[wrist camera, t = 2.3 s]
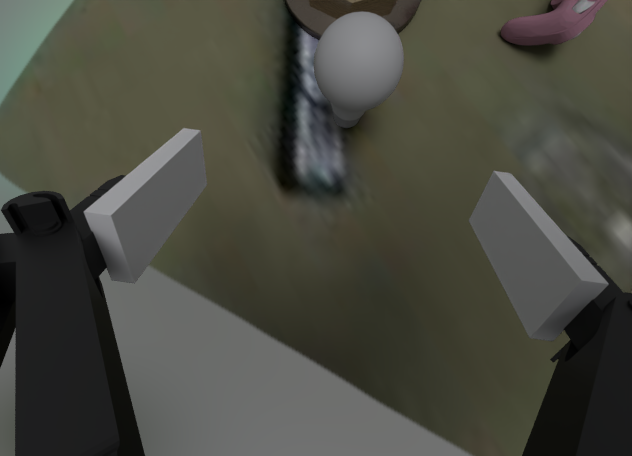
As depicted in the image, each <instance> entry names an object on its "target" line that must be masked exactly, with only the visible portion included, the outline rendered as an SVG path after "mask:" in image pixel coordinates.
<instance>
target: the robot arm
mask: <svg viewBox="0 0 632 456" xmlns="http://www.w3.org/2000/svg"><path fill="white" fill-rule="evenodd" d="M206 185H207V181H206V172H205V163H204V155H203V146H202V137H201V131H200V130H193V129H186V128H183V129H182V130H181V131H180V132H178V133H177V134H176V135H175V136H174V137H172V138H171V139H170V140H169V141H168V142H166V143H165V144H164V145H163V146H162V147H160V148H159V149H158V150H157V151H156V152H154V153H153V154H152V155H151V156H150V157H148V158H147V159H146V160H145V161H144V162H142V163H141V164H140V165H139V166H138V167H136V168H135V169H134V170H133V171H132V172H130V173H129V174H128V175H127V176H124V175H120V176H118V177H116V178H113V179H111V180H109V181H107V182H106V183H104V184H103V185H102V186H100V187H99V188H98V190H95V191H94V192H93V193H92V194H90V197H89V196H88V197H86V198H85V199H84V200H83V201H81V202H80V203H79V204H78V205H76V206H75V207H74V208H73V209H71V210H70V211H69V209H68V206H67V204H66V202H65V200H64V198H63V196H62V195H61V194H59V193H56V192H51V191H39V192H31V193H28V194H24V195H20V196H18V197H16V198H13V199H11V200H10V201H8V202H7V203H6V204H4V205H3V207H2V209H1V211H2V213H3V215H4V216H5V218H6V219H7V221H8V223H9V224H10V226H11V228H12V229H13V231H14V233H5V234H0V367H1V365H2V362H3V359H4V357H5V354H6V351H7V349H8V346H9V343H10V340H11V338H12V335H13V333H14V330H15V328H16V395H15V396H16V403H15V404H16V406H15V408H16V409H15V411H16V414H15V416H16V417H15V425H16V426H15V428H16V429H15V456H145V454H144V450H143V446H142V442H141V438H140V434H139V430H138V426H137V422H136V418H135V414H134V410H133V406H132V402H131V398H130V394H129V390H128V386H127V382H126V378H125V374H124V370H123V366H122V362H121V358H120V354H119V350H118V346H117V342H116V338H115V334H114V331H113V327H112V322H111V318H110V314H109V310H108V307H107V302H106V298H105V294H104V291H103V287H102V283H101V281H100V278H99V275H100V274H101V273H102V272H103V271H104V270H105V269H106V268H107V270H108V273H109V275H110V277H111V280H114V281H121V282H127V283H135V282H136V281H137V280H138V278H139V277H140V276H141V274H142V273H143V271H144V270H145V269H146V267H147V266H148V265H149V263H150V262H151V261H152V259H153V258H154V256H155V255H156V254H157V252H158V251H159V250H160V248H161V247H162V246H163V244H164V243H165V241H166V240H167V239H168V237H169V236H170V235H171V233H172V232H173V230H174V229H175V228H176V226H177V225H178V224H179V222H180V221H181V220H182V218H183V217H184V215H185V214H186V213H187V211H188V210H189V209H190V207H191V206H192V205H193V203H194V202H195V200H196V199H197V198H198V196H199V195H200V194H201V192H202V191H203V189H204V188H205V187H206ZM469 222H470V224H471V226H472V228H473V230H474V232H475V234H476V236H477V238H478V240H479V241H480V243H481V245H482V247H483V249H484V251H485V253H486V255H487V257H488V259H489V261H490V263H491V265H492V266H493V268H494V270H495V272H496V274H497V276H498V278H499V280H500V282H501V284H502V286H503V288H504V290H505V291H506V293H507V295H508V297H509V299H510V301H511V303H512V305H513V307H514V309H515V311H516V313H517V315H518V316H519V318H520V320H521V322H522V324H523V326H524V328H525V330H526V332H527V334H528V336H529V338H533V339H540V340H548V341H554V340H555V338H556V337H557V336H558V335H559V334H560V333H561V332H562V331H563V330H565V332H566V333H567V335H568V336H569V338H570V341H569V342H568V343H567V344H566V345H565V346H564V347H563V348H562V349H561V350H560V351H559V352H557V353H556V354H555V355H554V356H553V357H552V358H551V359H550V360H551V361H553V362H555V361H556V360H557V359H559V360H558V363H557V365H556V368H555V371H554V373H553V376H552V378H551V381H550V384H549V386H548V389H547V392H546V394H545V397H544V399H543V402H542V405H541V407H540V410H539V413H538V415H537V418H536V420H535V423H534V426H533V428H532V431H531V434H530V436H529V439H528V441H527V444H526V447H525V449H524V452H523V455H522V456H632V294H631V293H626V292H625V293H623V292H622V290H621V289H620V288H619V287H618V286H617V285H616V284H615V283H614V282H613V281H612V279H611V278H610V277H609V276H608V275H607V274H606V273H605V272H604V271H603V270H602V268H601V267H600V266H597V263H596V262H595V261H594V260H593V259H592V257H589V256H590V255H589V254H588V253H587V252H586V251H585V250H584V249H583V248H582V246H581V245H579V244H578V243H577V242H575V241H574V240H572V239H571V238H570V237H568V236H567V235H565V234H564V233H563V232H562V231H561V229H560V228H559V227H558V226H557V225H556V224H555V223H554V221H553V220H552V219H551V218H550V217H549V216H548V215H547V214H546V212H545V211H544V210H543V209H542V208H541V207H540V206H539V205H538V203H537V202H536V201H535V200H534V199H533V198H532V197H531V196H530V194H529V193H528V192H527V191H526V190H525V189H524V188H523V186H522V185H521V184H520V183H519V182H518V181H517V180H516V179H515V177H514V176H513V175H512V174H511V173H505V172H498V171H493V173H492V175H491V177H490V179H489V181H488V183H487V185H486V187H485V189H484V191H483V193H482V195H481V197H480V199H479V201H478V203H477V205H476V207H475V209H474V211H473V213H472V215H471V217H470V219H469Z"/></svg>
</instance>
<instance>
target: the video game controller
mask: <svg viewBox="0 0 632 456" xmlns="http://www.w3.org/2000/svg"><path fill="white" fill-rule="evenodd" d="M606 1H607V0H552V1H551V5H552V7H553V9H554V10H553V11H551V12H549V13H546V14H540V15H535V16H526V17H518V18H515V19H513V20H510V21H508V22H506V23H505V24H504V26H503V27H502V29H501V36H502V37H503V38H504V39H505V40H506V41H508V42H510V43H513V44H518V45H527V46H531V45H542V44H548V43H551V44H555V45H556V44H560V43H563V42H566V41H568V40H570V39H573V38H575V37H577V36H578V35H579V34H580V33H581V32H582V31H583V30H584V29H586V28H587V27H588V26H589V25H590V24H591V23H592V21H593V20H594V18H595V13H596V12H597V11H598V10H599V9H600V8H601V7H602V6H603V5H604V4H605V2H606Z"/></svg>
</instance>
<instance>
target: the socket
mask: <svg viewBox="0 0 632 456" xmlns="http://www.w3.org/2000/svg"><path fill="white" fill-rule="evenodd" d="M420 1H421V0H285V3H286V6H287V8H288V10H289V12H290V14H291V16H292V17H293V18H294V20H295V21H296V22H297V24H298V25H299V26H300V27H301V28H302V29H303V30H305V31H306V32H307V33H309V34H310V35H311V36H313V37H315V38H316V39H318V40H320V38H321V37H322V35H323V33H324V32H325V30H326V29H327V28H328V27H329V26H330V24H332V23H333V22H334V21H336V20H337V19H339V18H340V17H342V16H344V15H346V14H349V13H353V12H362V11H363V12H370V13H374V14H376V15H379V16H381V17H382V18H384V19H385V20H386V21H388V22H389V23H390V24H391V25H392V26H393V27H394V29H395V31H396V32H397V34H398V33H400V32H401V31H402V30H403V29H404V28H405V27H406V26H407V25H408V24H409V22H410V21H411V20H412V18H413V16H414V15H415V13H416V11H417V8H418V6H419V4H420Z"/></svg>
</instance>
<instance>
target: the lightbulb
mask: <svg viewBox="0 0 632 456" xmlns="http://www.w3.org/2000/svg"><path fill="white" fill-rule="evenodd" d="M403 61H404V55H403V48H402V43H401V40H400V38H399V36H398V34H397V32H396V31H395V29H394V27H393V26H392V25H391V24H390V23H389V22H388V21H386V20H385V19H384V18H382V17H381V16H379V15H376V14H374V13H370V12H363V11H362V12H353V13H349V14H346V15H344V16H342V17H340V18H339V19H337V20H336V21H334V22H333V23H332V24H330V26H329V27H328V28H327V29H326V30H325V32H324V33H323V35H322V37H321V38H320V40H319V42H318V45H317V48H316V52H315V56H314V73H315V78H316V81H317V84H318V86H319V89H320V90H321V92H322V94H323V95H324V96H325V97H326V98H327V100H328V101H330V102H331V107H332V110H333V118H334V121H335V122H336V123H337V124H338V125H339V126H341V127H343V128H350V127H353V126H355V125H356V124H357V123H358V121H359V119H360V118H361V116H362V115H363V114H364V113H365V111H366V110H369V109H372V108H374V107H376V106H378V105H380V104H381V103H382V102H384V101H385V100H386V99H387V98H388V97H389V96H390V95H391V94H392V92H393V91H394V90H395V88H396V86H397V84H398V82H399V80H400V78H401V74H402V71H403Z"/></svg>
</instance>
